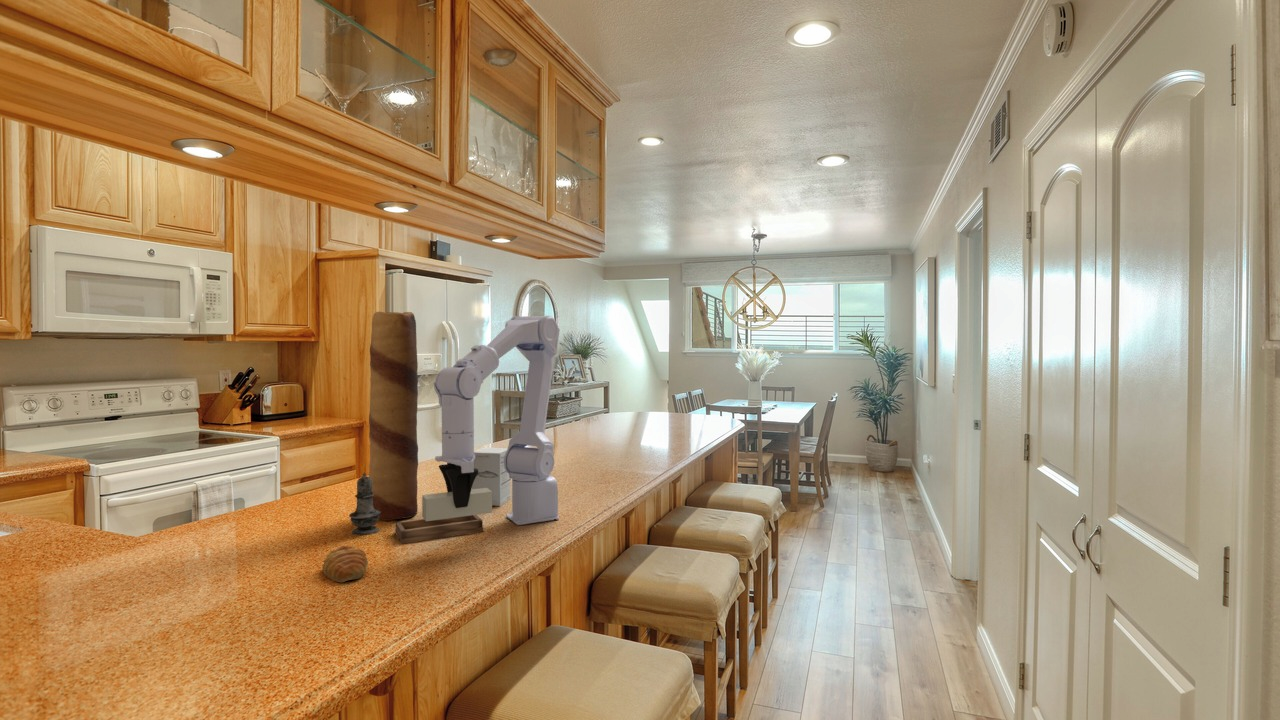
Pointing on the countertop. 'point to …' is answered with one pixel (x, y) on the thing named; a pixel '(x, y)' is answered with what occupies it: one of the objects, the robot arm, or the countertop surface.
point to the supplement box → (492, 474)
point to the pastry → (345, 564)
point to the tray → (437, 528)
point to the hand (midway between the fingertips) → (458, 504)
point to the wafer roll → (393, 414)
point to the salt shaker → (364, 508)
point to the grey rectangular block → (444, 505)
